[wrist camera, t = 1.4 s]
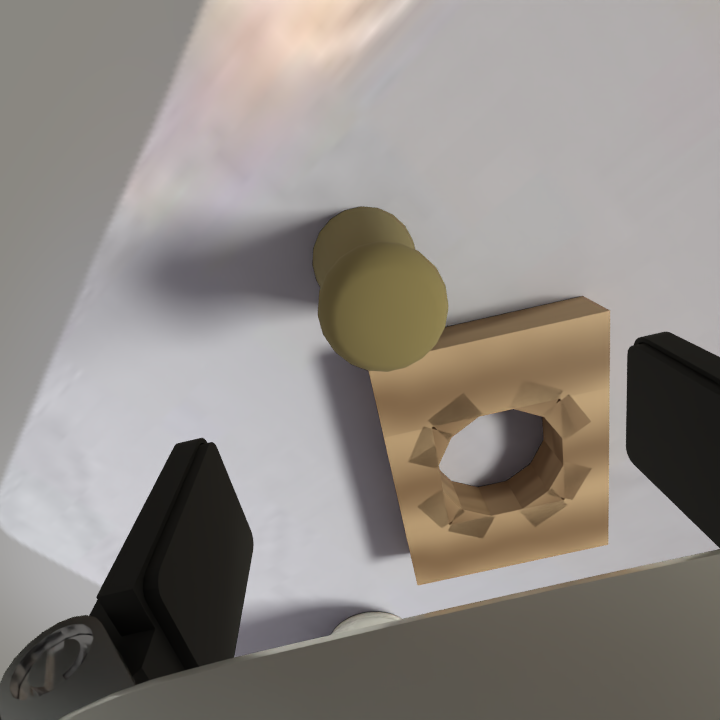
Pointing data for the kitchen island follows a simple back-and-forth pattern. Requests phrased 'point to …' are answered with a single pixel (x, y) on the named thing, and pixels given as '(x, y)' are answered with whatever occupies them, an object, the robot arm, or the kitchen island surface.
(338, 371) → the kitchen island surface
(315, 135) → the kitchen island surface
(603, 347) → the holder board
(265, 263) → the kitchen island surface
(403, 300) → the cork
